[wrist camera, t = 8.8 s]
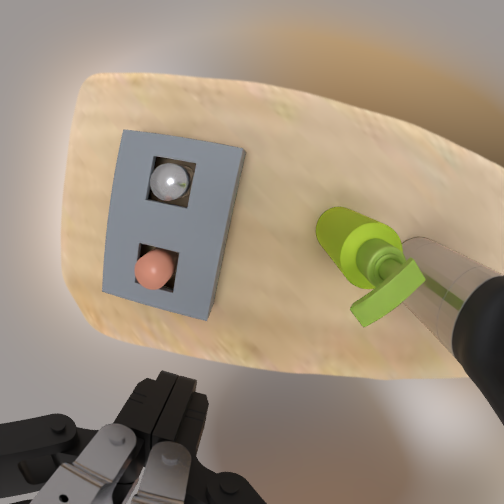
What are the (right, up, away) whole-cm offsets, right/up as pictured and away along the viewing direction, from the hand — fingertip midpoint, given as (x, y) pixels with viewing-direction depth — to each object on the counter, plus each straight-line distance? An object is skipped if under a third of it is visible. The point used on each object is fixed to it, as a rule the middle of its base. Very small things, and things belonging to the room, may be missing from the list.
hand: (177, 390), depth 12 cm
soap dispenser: (+13, +8, +26) cm, 30 cm away
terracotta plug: (-8, +5, +26) cm, 27 cm away
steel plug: (-6, +14, +24) cm, 29 cm away
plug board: (-7, +10, +26) cm, 29 cm away
